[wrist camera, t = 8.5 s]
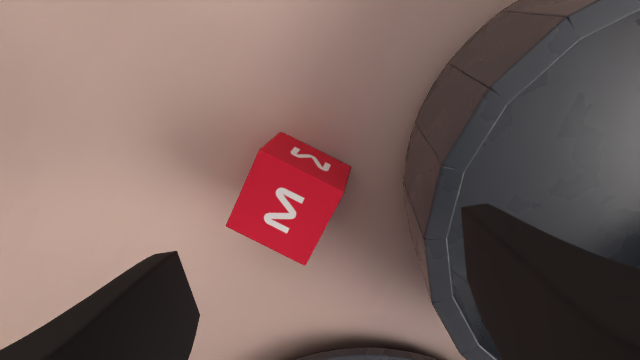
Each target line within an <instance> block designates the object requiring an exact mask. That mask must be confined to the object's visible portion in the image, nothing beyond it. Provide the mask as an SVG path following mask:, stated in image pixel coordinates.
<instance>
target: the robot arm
mask: <svg viewBox="0 0 640 360" xmlns="http://www.w3.org/2000/svg"><path fill="white" fill-rule="evenodd" d="M461 217H462V228H463V240H464V251H465V263H466V274H467V280H468V283H469V286H470V289H471V292H472V295H473V298H474V301H475V303H476V306H477V309H478V312H479V314H480V316H481V318H482V320H483V322H484V324H485V326H486V328H487V330H488V332H489V334H490V336H491V338H492V340H493V342H494V344H495V346H496V348H497V350H498V352H499V354H500V356H501V358H502V360H640V269H638V268H635V267H632V266H629V265H626V264H623V263H620V262H617V261H614V260H611V259H608V258H605V257H602V256H600V255H597V254H594V253H592V252H589V251H587V250H584V249H582V248H580V247H577V246H575V245H573V244H570V243H568V242H565V241H563V240H561V239H559V238H557V237H554V236H552V235H550V234H548V233H546V232H544V231H542V230H540V229H538V228H536V227H534V226H532V225H530V224H528V223H526V222H524V221H522V220H520V219H518V218H516V217H514V216H512V215H510V214H508V213H506V212H504V211H502V210H500V209H498V208H496V207H494V206H492V205H490V204H487V203H485V204H478V205H472V206H465V207H461ZM199 317H200V314H199V311H198V308H197V305H196V303H195V300H194V297H193V294H192V291H191V289H190V286H189V283H188V280H187V278H186V275H185V272H184V269H183V267H182V264H181V261H180V258H179V256H178V253H177V251H173V252H166V253H160V254H154V255H152V256H150V257H148V258H146V259H145V260H143V261H141V262H140V263H138V264H136V265H135V266H133V267H132V268H130V269H129V270H127V271H126V272H124V273H123V274H121V275H120V276H118V277H117V278H115V279H114V280H112V281H111V282H109V283H108V284H106V285H105V286H103V287H102V288H100V289H99V290H98V291H96V292H95V293H93V294H92V295H90V296H89V297H87V298H86V299H84V300H83V301H81V302H80V303H78V304H77V305H75V306H73V307H72V308H70V309H69V310H67V311H66V312H64V313H63V314H61V315H59V316H58V317H56V318H55V319H53V320H52V321H50V322H49V323H47V324H45V325H44V326H42V327H40V328H39V329H37V330H35V331H34V332H32V333H30V334H29V335H27V336H25V337H23V338H22V339H20V340H18V341H16V342H14V343H13V344H11V345H9V346H7V347H5V348H4V349H2V350H0V360H188V358H189V355H190V353H191V350H192V346H193V342H194V339H195V335H196V331H197V326H198V322H199Z"/></svg>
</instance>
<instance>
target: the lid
mask: <svg viewBox="0 0 640 360" xmlns="http://www.w3.org/2000/svg"><path fill="white" fill-rule="evenodd" d="M295 360H437V359H434V358H431V357H429V356H425V355H421V354H417V353H412V352H408V351H402V350H395V349H387V348H363V347H361V348H347V349H337V350H331V351H325V352H320V353H315V354H312V355H308V356H305V357H302V358H298V359H295Z"/></svg>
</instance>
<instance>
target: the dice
mask: <svg viewBox="0 0 640 360" xmlns="http://www.w3.org/2000/svg"><path fill="white" fill-rule="evenodd" d="M350 170H351V166H349V165H347V164H345V163H343V162H341V161H339V160H337V159H335V158H333V157H331V156H329V155H327V154H325V153H323V152H321V151H319V150H317V149H315V148H313V147H311V146H309V145H307V144H305V143H303V142H301V141H299V140H297V139H295V138H293V137H291V136H289V135H286V134H284V133H282V132H280V133H279V134H277V135H276V136H275V137H274V138H273V139H271V140H270V141H269V142H268V143H267V144H266V145H264V146H263V147H262V148H261V149H260V150H259V152H258V154H257V156H256V158H255V161H254V163H253V165H252V168H251V170H250V172H249V174H248V177H247V179H246V181H245V183H244V186H243V188H242V190H241V192H240V195H239V197H238V199H237V202H236V204H235V206H234V208H233V211H232V213H231V215H230V217H229V220H228V222H227V224H226V226H227V227H228V228H230V229H232V230H234V231H236V232H238V233H240V234H242V235H244V236H246V237H248V238H250V239H252V240H254V241H256V242H258V243H260V244H262V245H264V246H266V247H268V248H270V249H272V250H274V251H276V252H278V253H280V254H282V255H284V256H286V257H288V258H290V259H292V260H294V261H296V262H298V263H300V264H302V265H306V263H307V262H308V260H309V258H310V256H311V254H312V252H313V250H314V248H315V247H316V245H317V243H318V241H319V239H320V237H321V235H322V233H323V231H324V230H325V228H326V226H327V224H328V222H329V220H330V218H331V216H332V215H333V213H334V211H335V209H336V207H337V205H338V203H339V201H340V199H341V198H342V196H343V194H344V191H345V188H346V184H347V181H348V177H349V173H350Z"/></svg>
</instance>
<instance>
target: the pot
mask: <svg viewBox="0 0 640 360" xmlns="http://www.w3.org/2000/svg"><path fill="white" fill-rule="evenodd" d="M403 179H404V181H403V185H404V192H405V204H406V209H407V214H408V222H409V229H410V233H411V237H412V240H413V243H414V246H415V250H416V253H417V256H418V260H419V263H420V266H421V269H422V273H423V276H424V279H425V282H426V286H427V289H428V292H429V296H430V299H431V302H432V305H433V306H434V308H435V310H436V312H437V314H438V315H439V317H440V319H441V321H442V322H443V324H444V326H445V328H446V330H447V331H448V333H449V335H450V337H451V339H452V340H453V342H454V344H455V346H456V348H457V349H458V351H459V353H461V355H462V356H463V357H465V358H466V359H467V360H502V358H501V356H500V354H499V352H498V350H497V348H496V346H495V344H494V342H493V340H492V338H491V336H490V334H489V332H488V330H487V328H486V326H485V324H484V322H483V320H482V318H481V316H480V314H479V312H478V309H477V306H476V303H475V301H474V298H473V295H472V292H471V289H470V286H469V283H468V280H467V274H466V263H465V251H464V240H463V228H462V217H461V207H465V206H472V205H478V204H485V203H487V204H490V205H492V206H494V207H496V208H498V209H500V210H502V211H504V212H506V213H508V214H510V215H512V216H514V217H516V218H518V219H520V220H522V221H524V222H526V223H528V224H530V225H532V226H534V227H536V228H538V229H540V230H542V231H544V232H546V233H548V234H550V235H552V236H554V237H557V238H559V239H561V240H563V241H565V242H568V243H570V244H573V245H575V246H577V247H580V248H582V249H584V250H587V251H589V252H592V253H594V254H597V255H600V256H602V257H605V258H608V259H611V260H614V261H617V262H620V263H623V264H626V265H629V266H632V267H635V268H638V269H640V0H518V1H517V2H515V3H514V4H512V5H511V6H509V7H508V8H506V9H504V10H503V11H502V12H500V13H499V14H498V15H497V16H496V17H494V18H493V19H491V20H490V21H489V22H488V23H487V24H486V25H485V26H483V27H482V28H481V29H480V30H479V31H478V32H477V33H476V34H475V35H474V36H472V37H471V38H470V39H469V40H468V41H467V42H466V43H465V44H464V46H463V47H462V48H461V49H460V50H459V51H458V52H457V54H456V55H455V56H454V57H453V58H452V59H451V61H450V62H449V63H448V64H447V66H446V67H445V69H444V70H443V72H442V73H441V74H440V76H439V77H438V79H437V80H436V82H435V83H434V85H433V86H432V88H431V90H430V92H429V94H428V96H427V98H426V100H425V102H424V103H423V105H422V107H421V109H420V111H419V114H418V117H417V120H416V122H415V125H414V128H413V131H412V133H411V137H410V142H409V146H408V151H407V155H406V162H405V173H404V177H403Z"/></svg>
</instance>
